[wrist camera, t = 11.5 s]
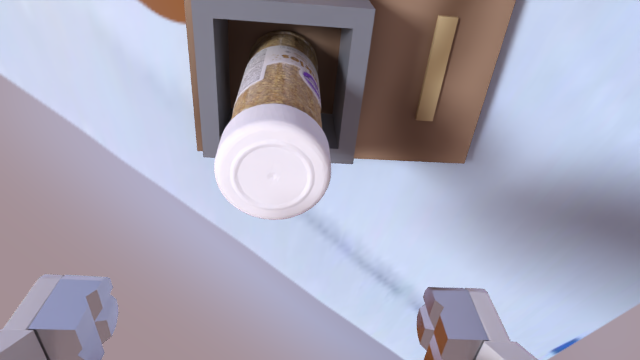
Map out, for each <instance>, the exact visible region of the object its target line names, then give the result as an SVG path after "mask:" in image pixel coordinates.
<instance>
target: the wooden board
mask: <svg viewBox="0 0 640 360" xmlns="http://www.w3.org/2000/svg"><path fill="white" fill-rule="evenodd" d="M369 1H370V3H371V4H372V5H373V7H374V8H375V9H376V10H375V17H374V23H373V30H372V37H371V44H370V51H369V57H368V64H367V71H366V78H365V85H364V92H363V98H362V105H361V112H360V119H359V126H358V132H357V139H356V146H355V153H354V158H358V159H379V160H400V161H421V162H442V163H463V164H464V163H465V160H466V156H467V153H468V150H469V147H470V144H471V141H472V137H473V134H474V131H475V128H476V125H477V122H478V118H479V115H480V112H481V109H482V106H483V103H484V100H485V96H486V93H487V90H488V87H489V84H490V81H491V77H492V74H493V71H494V68H495V65H496V62H497V59H498V55H499V52H500V49H501V46H502V43H503V40H504V36H505V33H506V30H507V27H508V24H509V21H510V17H511V14H512V11H513V8H514V5H515V2H516V0H369ZM184 5H185V16H186V28H187V39H188V50H189V62H190V73H191V84H192V95H193V106H194V118H195V129H196V140H197V151H203V145H202V132H201V120H200V108H199V95H198V83H197V71H196V58H195V46H194V33H193V21H192V9H191V0H184ZM341 29H342V28H337V27H323V26H310V25H296V24H283V23H269V22H256V21H242V20H229V19H228V46H229V73H230V100H231V108H234V105H235V102H236V98H237V95H238V92H239V89H240V85H241V82H242V79H243V75H244V72H245V69H246V67H247V65H248V57H249V53H250V50H251V48H252V46H253V45H254V44H255V43H256V41H257V40H258V39H259V38H260V37H262V36H264V35H265V34H267V33H270V32H273V31H277V30H285V31H291V32H294V33H296V34H298V35H301V36H302V37H304V38H305V39H306V40H307V41H308V42H309V43H310V44H311V46H312V47H313V49H314V50H315V53H316V56H317V61H318V79H319V89H320V99H321V113H326V114H332V113H333V104H334V95H335V85H336V76H337V67H338V57H339V48H340V39H341Z"/></svg>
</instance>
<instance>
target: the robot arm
mask: <svg viewBox="0 0 640 360" xmlns="http://www.w3.org/2000/svg"><path fill="white" fill-rule="evenodd" d="M112 288H113V286H112V283H111V280H110V278H108V277H96V276H78V275H56V274H44V275H43V276H41V277H40V278H38V279H37V281H36V282H35V284H34V285H33V286H32V288H31V289H30V291H29V292H28V293H27V295H26V296H25V298H24V299H23V301H22V302H21V303H20V305H19V306H18V308H17V309H16V310H15V312H14V313H13V315H12V316H11V317H10V319H9V320H8V322H7V323H6V325H5V326H4V327H3V329H0V360H101V359H102V357H103V355H104V349H103V346H102V344H103V343H104V342H105V341H107V340H108V339H109V338H110V337H111V336H112V334H113V332H114V330H115V327H116V323H117V317H118V304H117V300H116V299H115V298H114V297H113V296H112V295H110V292H111V290H112ZM423 298H424V302H425V304H424V305H423V306H422V307H420V308H419V312H418V315H417V333H418V338H419V342H420V344H421V345H422V346H423V347H424V348H425V349H426V350H427V352H426V355H425V358H424V360H538V359H536V358H535V357H534V356H533V355H532V354H530V353H529V352H528V351H527V350H526V349H524V348H523V347H522V346H521V345H520V344H518V343H517V342H511V341H510V339H509V337H508V334H507V332H506V330H505V328H504V326H503V324H502V322H501V320H500V318H499V316H498V313H497V311H496V309H495V307H494V305H493V303H492V301H491V299H490V297H489V295H488V292H487V291H486V290H485V289H475V288H465V289H464V288H441V287H428V288H427V289H426V290H425V293H424V296H423Z"/></svg>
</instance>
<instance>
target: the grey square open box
mask: <svg viewBox="0 0 640 360" xmlns="http://www.w3.org/2000/svg"><path fill="white" fill-rule="evenodd" d="M191 9H192V21H193V33H194V46H195V58H196V71H197V83H198V95H199V108H200V120H201V132H202V145H203V157H211V158H215V157H216V153H217V149H218V146H219V142H220V139H221V136H222V133H223V131H224V129H225V128H226V126H227V125H228V123H229V122H230V121H231V118H232V114H233V109H234V108H231V100H230V73H229V46H228V19H229V20H242V21H256V22H269V23H283V24H296V25H310V26H323V27H337V28H342V29H341V39H340V48H339V57H338V67H337V76H336V85H335V95H334V104H333V113H332V114H326V113H321V122H322V130H323V132H324V133H325V135H326V138H327V141H328V144H329V150H330V160H331V163H341V164H353V160H354V153H355V146H356V139H357V132H358V126H359V119H360V112H361V105H362V98H363V92H364V85H365V78H366V71H367V64H368V57H369V51H370V44H371V37H372V30H373V23H374V17H375V10H376V9H375V8H374V7H373V5H372V4H371V3H370V1H369V0H191Z"/></svg>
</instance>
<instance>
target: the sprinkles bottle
mask: <svg viewBox="0 0 640 360" xmlns="http://www.w3.org/2000/svg"><path fill="white" fill-rule="evenodd" d="M214 172H215V178H216V182H217V185H218V187H219V189H220V191H221V192H222V194H223V195H224V197H225V198H226V199H227V200H228V201H229V202H230V203H231V204H232V205H233V206H235V207H236V208H237V209H239V210H240V211H242V212H244V213H246V214H249V215H251V216H254V217H258V218H262V219H270V220H278V219H287V218H291V217H294V216H297V215H300V214H302V213H304V212H306V211H308V210H309V209H311V208H312V207H313V206H314V205H316V204H317V203H318V202H319V200H320V199H321V198H322V197H323V195H324V194H325V192H326V190H327V188H328V185H329V182H330V178H331V160H330V150H329V144H328V141H327V138H326V135H325V133H324V132H323V130H322V122H321V99H320V89H319V79H318V61H317V56H316V53H315V50H314V49H313V47H312V46H311V44H310V43H309V42H308V41H307V40H306V39H305V38H304V37H302V36H301V35H298V34H296V33H294V32H291V31H285V30H277V31H273V32H270V33H267V34H265V35H264V36H262V37H260V38H259V39H258V40H257V41H256V43H255V44H254V45H253V46H252V48H251V50H250V53H249V57H248V65H247V67H246V69H245V72H244V75H243V79H242V82H241V85H240V89H239V92H238V95H237V98H236V102H235V105H234V109H233V114H232V118H231V121H230V122H229V123H228V125H227V126H226V128H225V129H224V131H223V133H222V136H221V139H220V142H219V146H218V149H217V153H216V157H215V164H214Z"/></svg>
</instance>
